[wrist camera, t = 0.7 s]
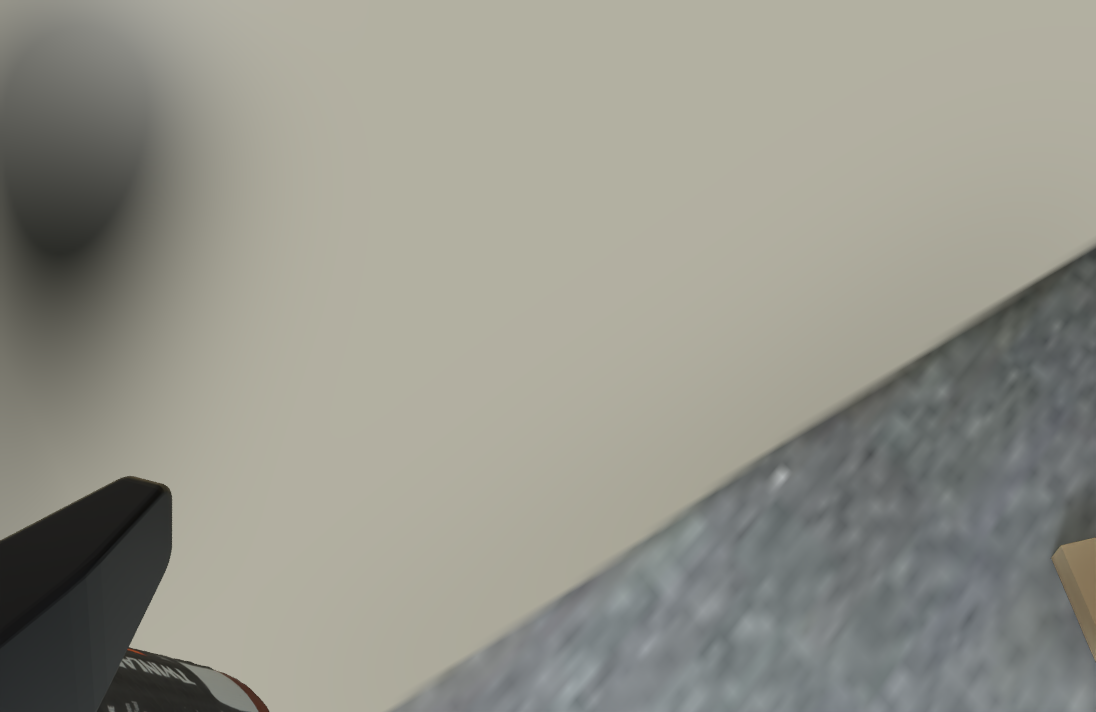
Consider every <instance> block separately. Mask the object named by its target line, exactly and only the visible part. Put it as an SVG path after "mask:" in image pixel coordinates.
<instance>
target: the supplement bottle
mask: <svg viewBox="0 0 1096 712" xmlns="http://www.w3.org/2000/svg"><path fill="white" fill-rule="evenodd" d="M97 712H269V710H268V708H267V706H266V705H265V704H264V703H263V701H261V699H260V698H259V697H258V696H257V695H256V694H255V693H254V692H253V691H252V690H251V689H250V688H249V687H247V686H246V685H245V684H243V683H241V682H240V681H239V680H237V679H235V678H233V677H231V676H229V675H227V674H225V673H222V672H218V671H216V670H213V669H212V668H210V667H206V666H201V665H197V664H194V663H192V662H189V661H183V660H180V659H172V658H170V657H167V656H163V655H158V654H154V653H150V652H146V651H141V650H137V649H132V648H129V647H128V649H127V651H126V653H125V655H124V657H123V659H122V661H121V663H120V665H119V668H118V670H117V672H116V674H115V676H114V678H113V680H112V682H111V684H110V686H109V688H108V690H107V692H106V694H105V696H104V698H103V700H102V702H101V704H100V706H99V708H98V710H97Z"/></svg>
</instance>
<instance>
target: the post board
mask: <svg viewBox="0 0 1096 712" xmlns="http://www.w3.org/2000/svg"><path fill="white" fill-rule="evenodd" d="M1051 559H1052V561H1053V563H1054V566H1055V568H1056V570H1057V573H1058V575H1059V577H1060V580H1061V582H1062V584H1063V587H1064V589H1065V591H1066V594H1067V596H1068V598H1069V601H1070V603H1071V605H1072V608H1073V610H1074V612H1075V615H1076V617H1077V619H1078V622H1079V624H1080V626H1081V629H1082V631H1083V634H1084V636H1085V638H1086V641H1087V643H1088V645H1089V648H1090V650H1091V652H1092V655H1093V657H1094V659H1095V662H1096V537H1095V538H1091V539H1086V540H1082V541H1078V542H1073V543H1069V544H1065V545H1061V546H1060V547H1059V548H1058V550H1057V551H1056V552H1055V554H1054V555H1053V556H1052V557H1051Z"/></svg>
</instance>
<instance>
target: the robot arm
mask: <svg viewBox="0 0 1096 712" xmlns="http://www.w3.org/2000/svg"><path fill="white" fill-rule="evenodd" d="M171 550H172V495H171V492H170V489H169V488H168V487H167V486H166V485H164V484H161V483H157V482H153V481H149V480H146V479H141V478H138V477H134V476H127V477H123V478H120V479H118V480H116V481H114V482H112V483H110V484H108V485H106V486H104V487H102V488H100V489H98V490H96V491H95V492H93V493H91V494H89V495H87V496H85V497H83V498H81V499H79V500H77V501H75V502H74V503H72V504H70V505H68V506H66V507H64V508H62V509H60V510H58V511H56V512H54V513H52V514H50V515H48V516H47V517H45V518H43V519H41V520H39V521H37V522H35V523H33V524H31V525H29V526H27V527H25V528H23V529H22V530H20V531H18V532H16V533H14V534H12V535H10V536H8V537H6V538H4V539H2V540H0V712H97V710H98V708H99V706H100V704H101V702H102V700H103V698H104V696H105V694H106V692H107V690H108V688H109V686H110V684H111V682H112V680H113V678H114V676H115V674H116V672H117V670H118V668H119V665H120V663H121V661H122V659H123V657H124V655H125V653H126V651H127V649H128V647H129V645H130V643H131V641H132V639H133V637H134V635H135V632H136V630H137V628H138V626H139V624H140V622H141V620H142V618H143V616H144V614H145V612H146V610H147V608H148V606H149V604H150V602H151V600H152V598H153V595H154V594H155V592H156V589H157V587H158V585H159V583H160V581H161V579H162V577H163V575H164V573H165V571H166V568H167V566H168V563H169V559H170V555H171Z"/></svg>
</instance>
